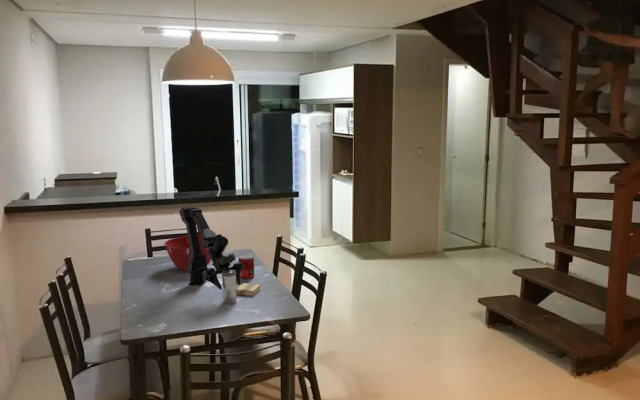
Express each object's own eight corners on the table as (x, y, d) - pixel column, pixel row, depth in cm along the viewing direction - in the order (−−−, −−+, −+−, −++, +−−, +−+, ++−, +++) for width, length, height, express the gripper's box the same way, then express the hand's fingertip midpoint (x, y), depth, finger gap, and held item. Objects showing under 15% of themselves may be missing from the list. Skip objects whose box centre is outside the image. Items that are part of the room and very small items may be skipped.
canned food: (251, 279, 267) (251, 258, 265) (237, 278, 269) (236, 258, 267) (256, 274, 275) (255, 254, 273) (242, 274, 276) (241, 254, 274)
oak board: (235, 294, 245) (235, 289, 245) (243, 288, 254) (243, 283, 253) (253, 295, 243) (253, 290, 242) (260, 289, 251) (260, 284, 251)
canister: (220, 303, 233) (219, 273, 231) (226, 298, 239) (225, 269, 237) (233, 304, 232) (232, 274, 230) (239, 299, 238) (237, 270, 235)
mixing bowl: (164, 277, 272) (162, 248, 269) (167, 262, 299) (165, 236, 296) (219, 273, 278) (218, 245, 276) (217, 259, 305) (215, 233, 303)
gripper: (204, 252, 229) (217, 282, 223) (241, 245, 241) (254, 273, 234) (197, 265, 237) (209, 295, 230) (233, 258, 248) (246, 286, 241)
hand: (230, 287), depth 234 cm, fingers open, 9 cm apart
